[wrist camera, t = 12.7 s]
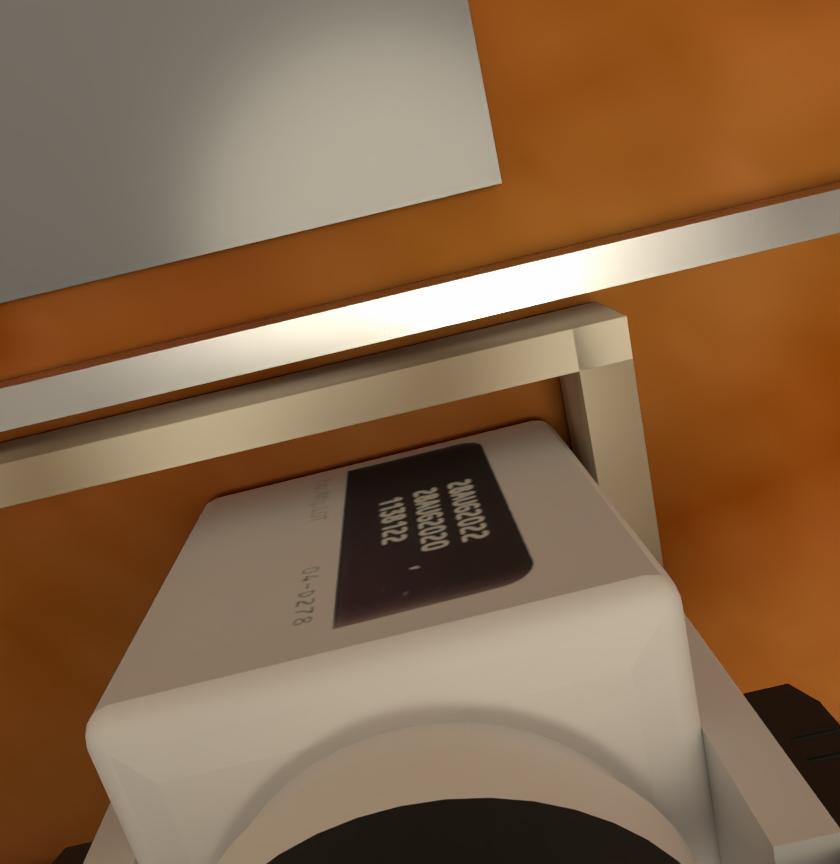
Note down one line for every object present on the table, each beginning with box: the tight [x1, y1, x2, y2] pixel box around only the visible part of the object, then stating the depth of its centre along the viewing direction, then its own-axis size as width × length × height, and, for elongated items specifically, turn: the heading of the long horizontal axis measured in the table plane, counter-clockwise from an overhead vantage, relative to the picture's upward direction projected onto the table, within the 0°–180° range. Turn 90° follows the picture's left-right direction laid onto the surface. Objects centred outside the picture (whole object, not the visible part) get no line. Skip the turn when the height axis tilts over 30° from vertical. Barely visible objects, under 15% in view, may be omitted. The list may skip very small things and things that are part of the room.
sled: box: [0, 302, 664, 569], centre depth 13 cm, size 23×12×9 cm, turn 103°
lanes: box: [0, 181, 840, 432], centre depth 17 cm, size 32×14×1 cm, turn 103°
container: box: [85, 421, 721, 864], centre depth 12 cm, size 8×8×13 cm
